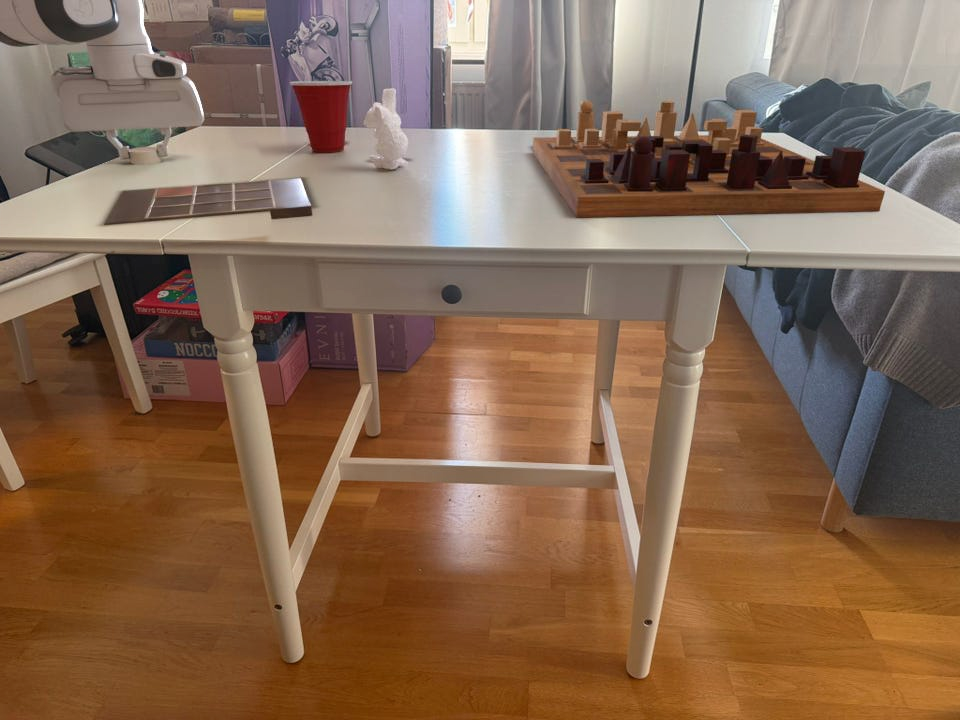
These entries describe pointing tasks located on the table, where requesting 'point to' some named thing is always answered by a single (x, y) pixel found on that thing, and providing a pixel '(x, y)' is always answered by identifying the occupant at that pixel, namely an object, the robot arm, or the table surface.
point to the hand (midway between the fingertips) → (145, 157)
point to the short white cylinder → (144, 155)
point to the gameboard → (695, 169)
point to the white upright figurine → (387, 132)
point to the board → (212, 201)
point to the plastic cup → (324, 112)
